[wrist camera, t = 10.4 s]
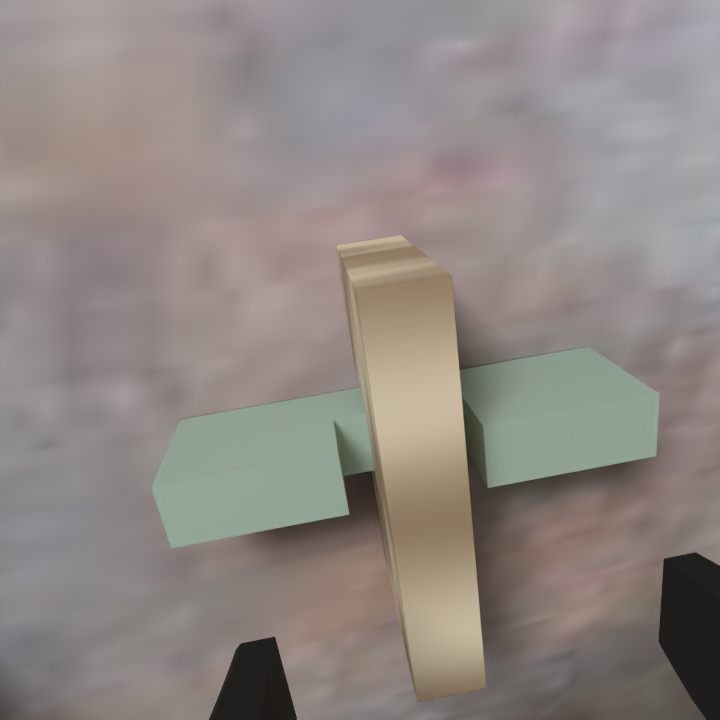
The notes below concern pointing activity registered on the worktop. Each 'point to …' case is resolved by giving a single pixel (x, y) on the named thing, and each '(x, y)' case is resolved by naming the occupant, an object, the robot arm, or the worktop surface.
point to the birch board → (418, 455)
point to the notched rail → (353, 450)
